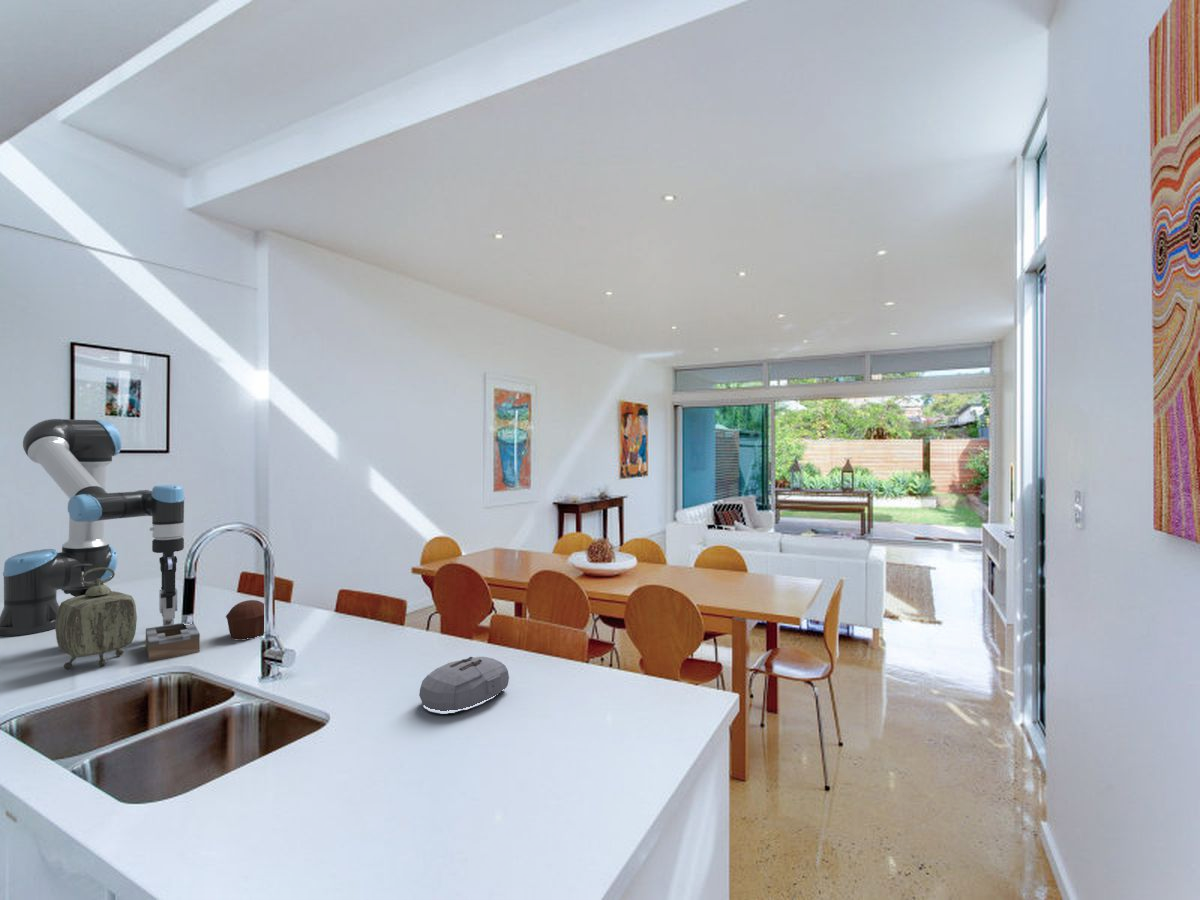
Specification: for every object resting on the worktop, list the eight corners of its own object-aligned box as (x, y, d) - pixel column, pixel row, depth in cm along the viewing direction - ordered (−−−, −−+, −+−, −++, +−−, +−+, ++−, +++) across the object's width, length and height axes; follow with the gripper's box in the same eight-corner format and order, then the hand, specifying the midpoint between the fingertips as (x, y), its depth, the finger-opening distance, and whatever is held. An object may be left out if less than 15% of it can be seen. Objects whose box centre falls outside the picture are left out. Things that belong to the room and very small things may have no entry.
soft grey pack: (473, 677, 145) (403, 706, 129) (473, 644, 145) (404, 668, 129) (517, 693, 136) (449, 726, 120) (517, 657, 136) (449, 685, 120)
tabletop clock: (124, 652, 160) (124, 561, 160) (139, 659, 156) (139, 565, 155) (55, 670, 148) (55, 571, 148) (69, 677, 143) (69, 575, 143)
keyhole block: (145, 646, 165) (145, 628, 165) (192, 638, 173) (192, 621, 172) (149, 661, 154) (149, 642, 154) (199, 651, 161) (199, 633, 161)
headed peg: (156, 637, 173) (156, 589, 173) (178, 633, 176) (178, 587, 176) (157, 641, 169) (157, 593, 169) (180, 638, 172) (180, 590, 172)
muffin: (254, 642, 170) (254, 607, 170) (216, 641, 170) (216, 607, 170) (277, 629, 181) (278, 596, 181) (242, 628, 182) (242, 596, 182)
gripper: (150, 535, 177) (150, 612, 177) (154, 542, 164) (154, 626, 164) (180, 533, 181) (180, 608, 182) (187, 540, 168) (187, 621, 169)
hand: (168, 616), depth 173 cm, fingers closed on headed peg, 4 cm apart
